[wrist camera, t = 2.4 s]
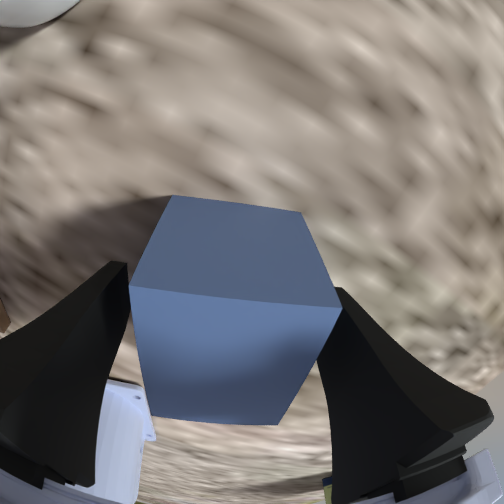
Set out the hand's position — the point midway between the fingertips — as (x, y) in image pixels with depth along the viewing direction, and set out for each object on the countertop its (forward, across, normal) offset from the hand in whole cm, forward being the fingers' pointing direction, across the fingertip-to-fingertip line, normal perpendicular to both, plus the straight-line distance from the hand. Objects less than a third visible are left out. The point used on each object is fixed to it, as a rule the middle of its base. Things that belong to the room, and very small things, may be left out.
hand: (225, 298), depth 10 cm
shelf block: (+2, 0, 0) cm, 2 cm away
